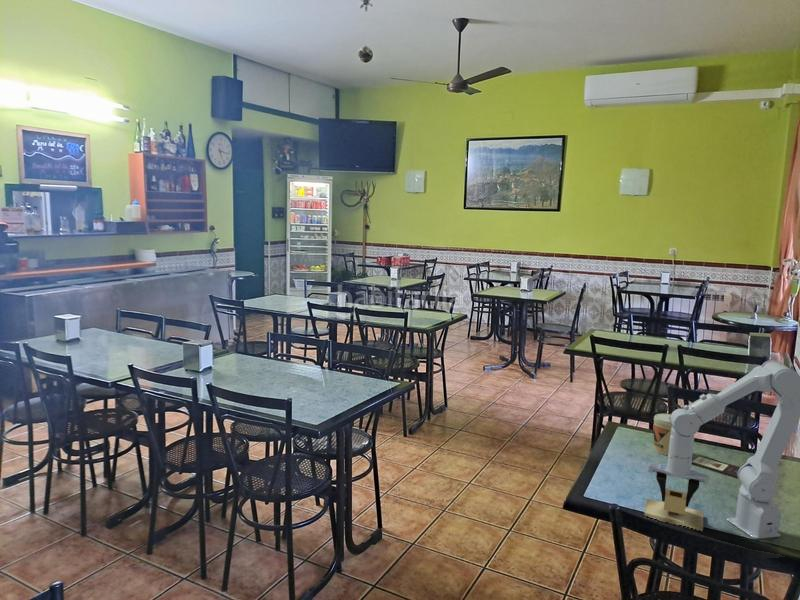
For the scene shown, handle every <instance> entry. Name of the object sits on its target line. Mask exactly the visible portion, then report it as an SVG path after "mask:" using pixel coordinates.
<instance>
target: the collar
mask: <svg viewBox="0 0 800 600" xmlns="http://www.w3.org/2000/svg"><path fill="white" fill-rule="evenodd" d="M686 496H687V491H686V492H685V491H680V490H676V489H671V488H669V487H668V488H666V494H665V502H663V503H664V510H666V511H671V512H675V513H679V514H683V515H684V514H685V508H686V507H685V506H686Z"/></svg>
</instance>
